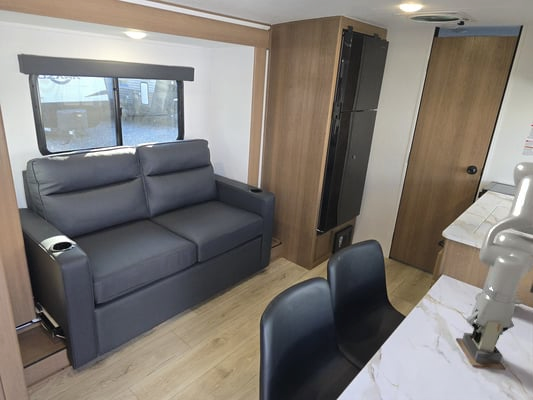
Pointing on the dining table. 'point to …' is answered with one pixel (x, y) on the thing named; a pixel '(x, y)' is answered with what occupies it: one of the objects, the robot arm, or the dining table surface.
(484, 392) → the dining table surface
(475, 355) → the sleeve stand
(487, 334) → the skincare box
